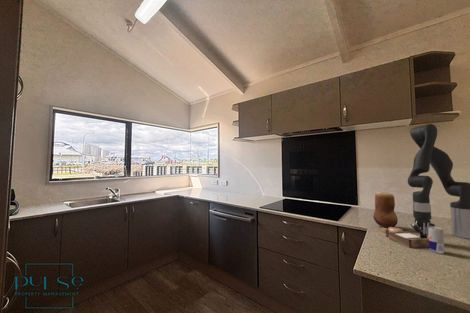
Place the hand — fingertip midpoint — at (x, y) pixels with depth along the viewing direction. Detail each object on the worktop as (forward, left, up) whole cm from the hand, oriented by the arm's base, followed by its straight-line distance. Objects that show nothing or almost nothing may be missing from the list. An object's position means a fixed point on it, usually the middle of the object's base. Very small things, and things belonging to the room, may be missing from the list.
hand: (423, 240), depth 111 cm
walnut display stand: (+10, 0, -1) cm, 10 cm away
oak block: (+13, -13, -1) cm, 18 cm away
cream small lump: (+6, -12, -1) cm, 13 cm away
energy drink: (+7, +12, -1) cm, 14 cm away
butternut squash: (0, -26, -1) cm, 26 cm away
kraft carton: (+10, 0, -1) cm, 10 cm away
